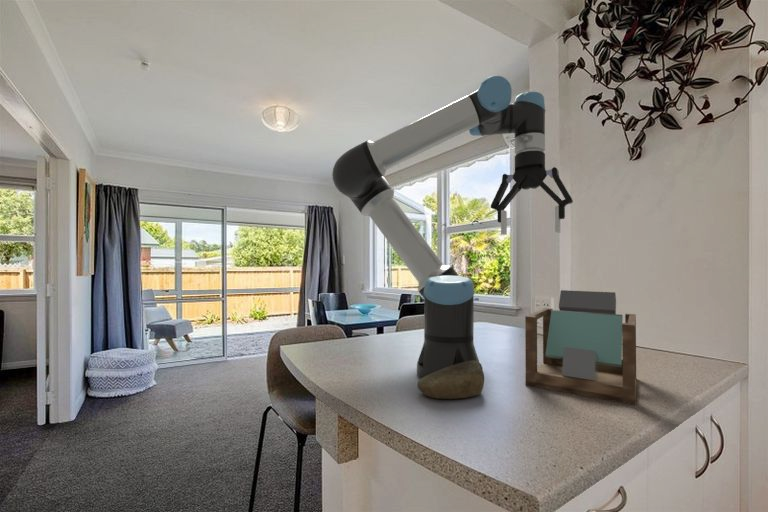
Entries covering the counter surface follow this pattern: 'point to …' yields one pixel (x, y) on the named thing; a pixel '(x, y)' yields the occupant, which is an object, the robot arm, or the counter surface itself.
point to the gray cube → (580, 363)
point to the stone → (454, 381)
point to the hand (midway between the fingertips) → (529, 233)
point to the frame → (608, 385)
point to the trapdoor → (586, 326)
